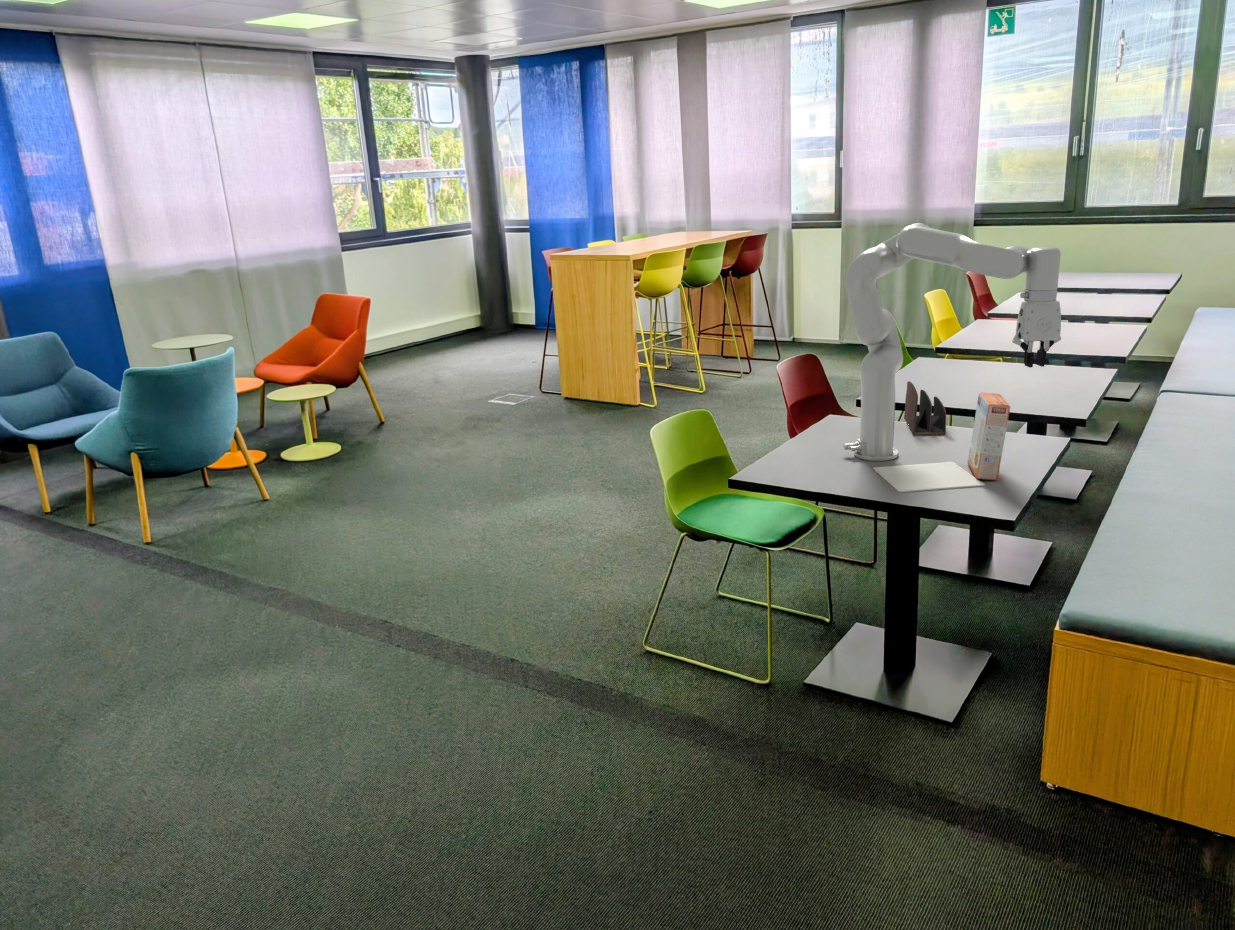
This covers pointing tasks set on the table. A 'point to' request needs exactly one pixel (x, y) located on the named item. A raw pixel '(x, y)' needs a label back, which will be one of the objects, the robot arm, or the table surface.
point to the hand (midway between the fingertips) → (1034, 365)
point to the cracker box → (988, 436)
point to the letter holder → (924, 413)
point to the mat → (927, 477)
